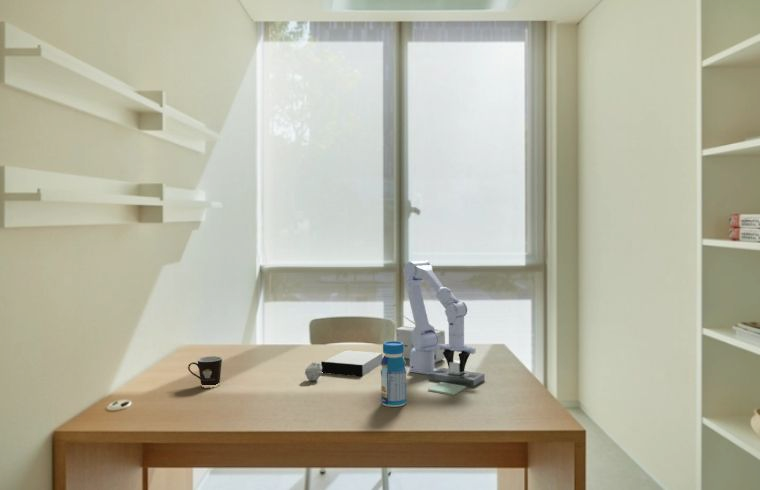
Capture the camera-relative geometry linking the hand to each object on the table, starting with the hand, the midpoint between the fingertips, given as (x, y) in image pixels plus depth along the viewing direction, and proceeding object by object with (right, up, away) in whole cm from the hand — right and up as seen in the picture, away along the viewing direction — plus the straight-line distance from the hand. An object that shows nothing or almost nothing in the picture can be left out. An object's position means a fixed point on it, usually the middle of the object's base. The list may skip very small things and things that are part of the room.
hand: (456, 370), depth 209 cm
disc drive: (-40, -4, +20) cm, 45 cm away
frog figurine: (-54, -5, +2) cm, 54 cm away
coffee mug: (-93, -5, -2) cm, 93 cm away
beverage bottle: (-24, -5, -26) cm, 36 cm away
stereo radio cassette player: (-11, -3, +34) cm, 36 cm away
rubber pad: (-5, -4, -11) cm, 13 cm away
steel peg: (0, -4, 0) cm, 4 cm away
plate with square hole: (0, -4, 0) cm, 4 cm away
